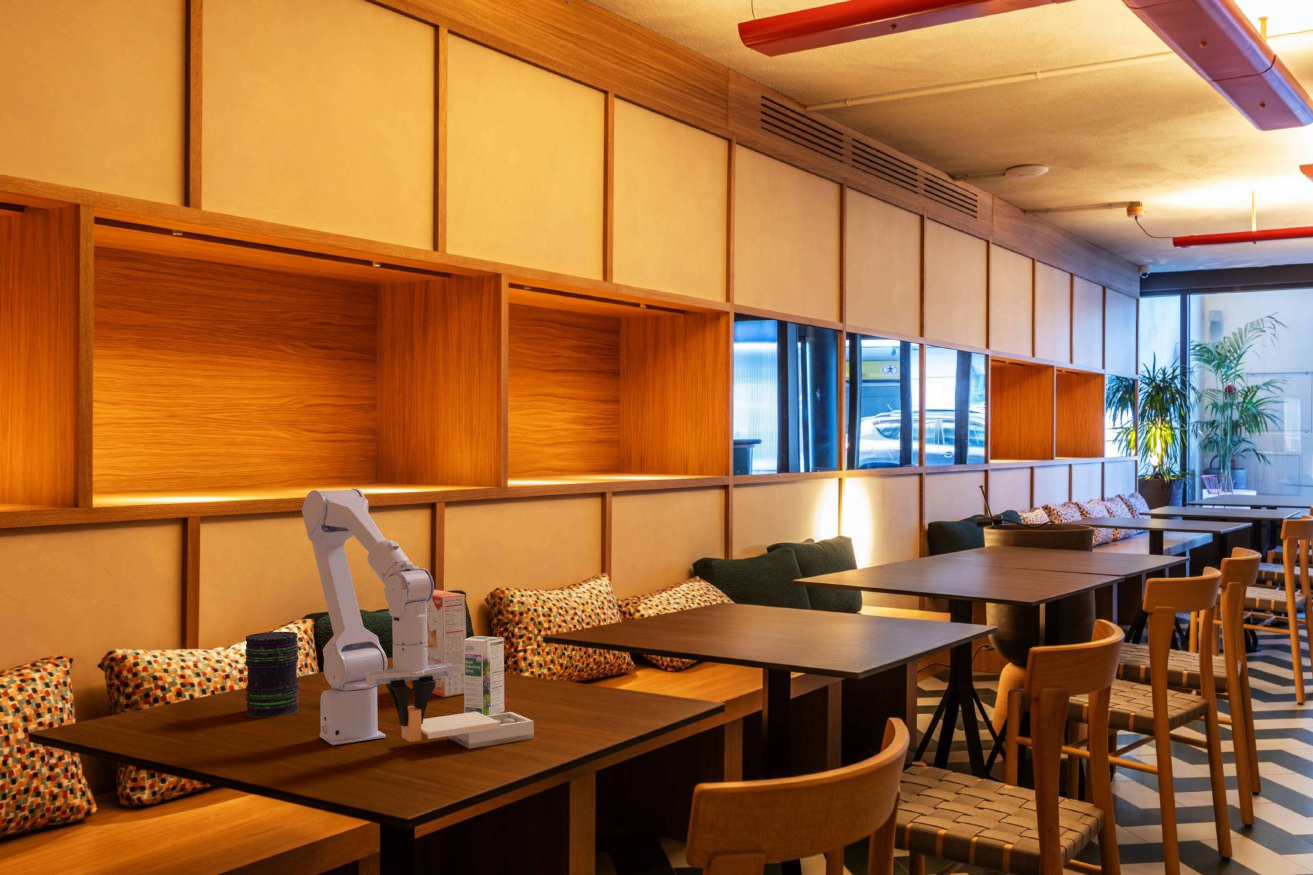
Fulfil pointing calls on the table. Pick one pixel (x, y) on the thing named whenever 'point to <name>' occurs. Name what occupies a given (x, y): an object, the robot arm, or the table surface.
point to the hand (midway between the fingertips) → (411, 724)
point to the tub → (499, 731)
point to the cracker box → (447, 639)
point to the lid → (445, 725)
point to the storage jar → (271, 674)
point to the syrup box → (484, 675)
